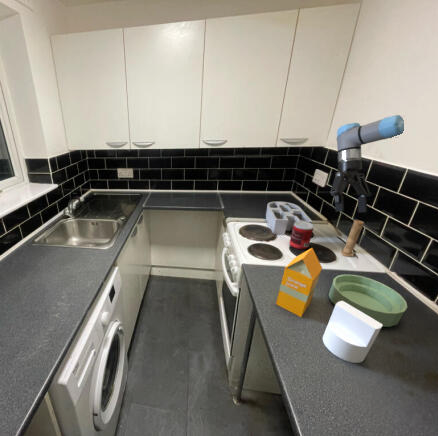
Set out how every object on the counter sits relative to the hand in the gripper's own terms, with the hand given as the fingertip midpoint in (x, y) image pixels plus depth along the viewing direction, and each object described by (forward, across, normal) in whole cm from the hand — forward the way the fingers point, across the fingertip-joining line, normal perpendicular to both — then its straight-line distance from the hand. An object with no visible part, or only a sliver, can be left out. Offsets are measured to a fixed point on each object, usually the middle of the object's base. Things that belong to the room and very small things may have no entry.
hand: (351, 212), depth 96 cm
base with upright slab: (+39, +40, +21) cm, 60 cm away
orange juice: (+32, +40, +6) cm, 52 cm away
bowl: (+32, +21, +14) cm, 41 cm away
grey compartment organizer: (+5, -2, -35) cm, 36 cm away
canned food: (+15, +9, -17) cm, 25 cm away
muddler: (+18, -4, -5) cm, 19 cm away
